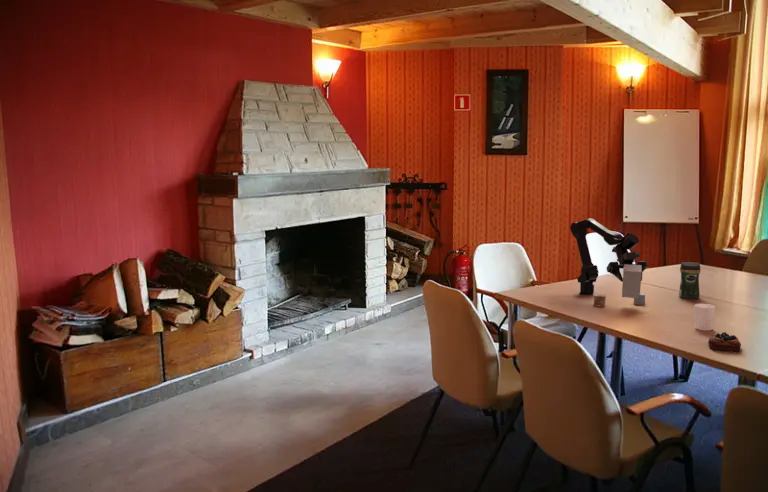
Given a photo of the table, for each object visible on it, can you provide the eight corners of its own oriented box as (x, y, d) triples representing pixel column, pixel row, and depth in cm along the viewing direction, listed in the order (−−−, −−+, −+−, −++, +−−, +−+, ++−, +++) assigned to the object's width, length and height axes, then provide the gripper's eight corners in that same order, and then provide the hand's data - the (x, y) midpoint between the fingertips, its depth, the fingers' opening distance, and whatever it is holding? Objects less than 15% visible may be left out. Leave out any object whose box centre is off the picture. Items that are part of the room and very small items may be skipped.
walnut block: (593, 305, 311) (594, 295, 311) (594, 303, 316) (595, 293, 315) (604, 306, 309) (604, 296, 309) (605, 304, 314) (605, 294, 313)
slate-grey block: (633, 304, 313) (634, 294, 312) (634, 301, 318) (634, 292, 317) (644, 305, 311) (644, 295, 310) (644, 302, 316) (645, 293, 315)
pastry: (709, 351, 239) (710, 336, 238) (706, 342, 250) (707, 328, 249) (742, 354, 235) (743, 339, 234) (738, 345, 246) (739, 330, 245)
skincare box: (639, 292, 308) (642, 264, 301) (639, 300, 302) (642, 271, 295) (621, 290, 311) (624, 262, 304) (620, 297, 305) (623, 270, 298)
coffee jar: (698, 296, 327) (700, 261, 324) (700, 299, 320) (702, 263, 317) (677, 295, 330) (679, 260, 327) (679, 298, 323) (681, 263, 320)
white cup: (689, 326, 272) (690, 303, 270) (706, 325, 272) (708, 303, 271) (700, 331, 264) (701, 308, 263) (717, 330, 265) (719, 307, 263)
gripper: (609, 245, 306) (618, 272, 297) (647, 244, 307) (656, 271, 298) (602, 258, 315) (611, 285, 306) (638, 257, 316) (648, 284, 307)
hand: (631, 281), depth 304 cm, fingers closed on skincare box, 9 cm apart
